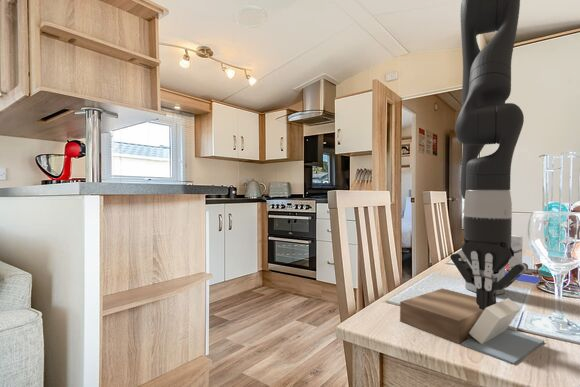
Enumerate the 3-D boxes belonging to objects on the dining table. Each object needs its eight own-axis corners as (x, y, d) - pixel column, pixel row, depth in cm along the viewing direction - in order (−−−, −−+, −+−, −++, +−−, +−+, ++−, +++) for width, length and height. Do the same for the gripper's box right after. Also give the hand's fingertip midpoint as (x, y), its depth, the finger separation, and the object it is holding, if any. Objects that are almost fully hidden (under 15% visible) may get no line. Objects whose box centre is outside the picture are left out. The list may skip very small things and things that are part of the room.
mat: (495, 326, 65) (495, 325, 65) (544, 342, 58) (544, 340, 58) (461, 344, 57) (461, 342, 57) (513, 364, 51) (513, 362, 51)
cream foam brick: (508, 298, 62) (521, 307, 60) (491, 321, 64) (504, 331, 62) (485, 307, 56) (499, 318, 55) (468, 333, 59) (481, 344, 57)
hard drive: (487, 273, 103) (536, 282, 94) (494, 269, 108) (541, 276, 99) (487, 278, 103) (536, 287, 94) (494, 274, 108) (541, 282, 99)
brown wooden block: (442, 305, 77) (442, 288, 77) (498, 322, 67) (499, 302, 67) (400, 321, 68) (400, 301, 67) (458, 343, 58) (458, 320, 58)
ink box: (523, 271, 110) (523, 236, 110) (508, 271, 110) (508, 236, 110) (506, 265, 118) (507, 232, 118) (492, 265, 118) (493, 232, 118)
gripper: (537, 216, 57) (536, 316, 57) (461, 212, 68) (460, 296, 68) (519, 218, 53) (518, 326, 53) (441, 213, 64) (440, 303, 64)
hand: (485, 309), depth 61 cm, fingers closed
